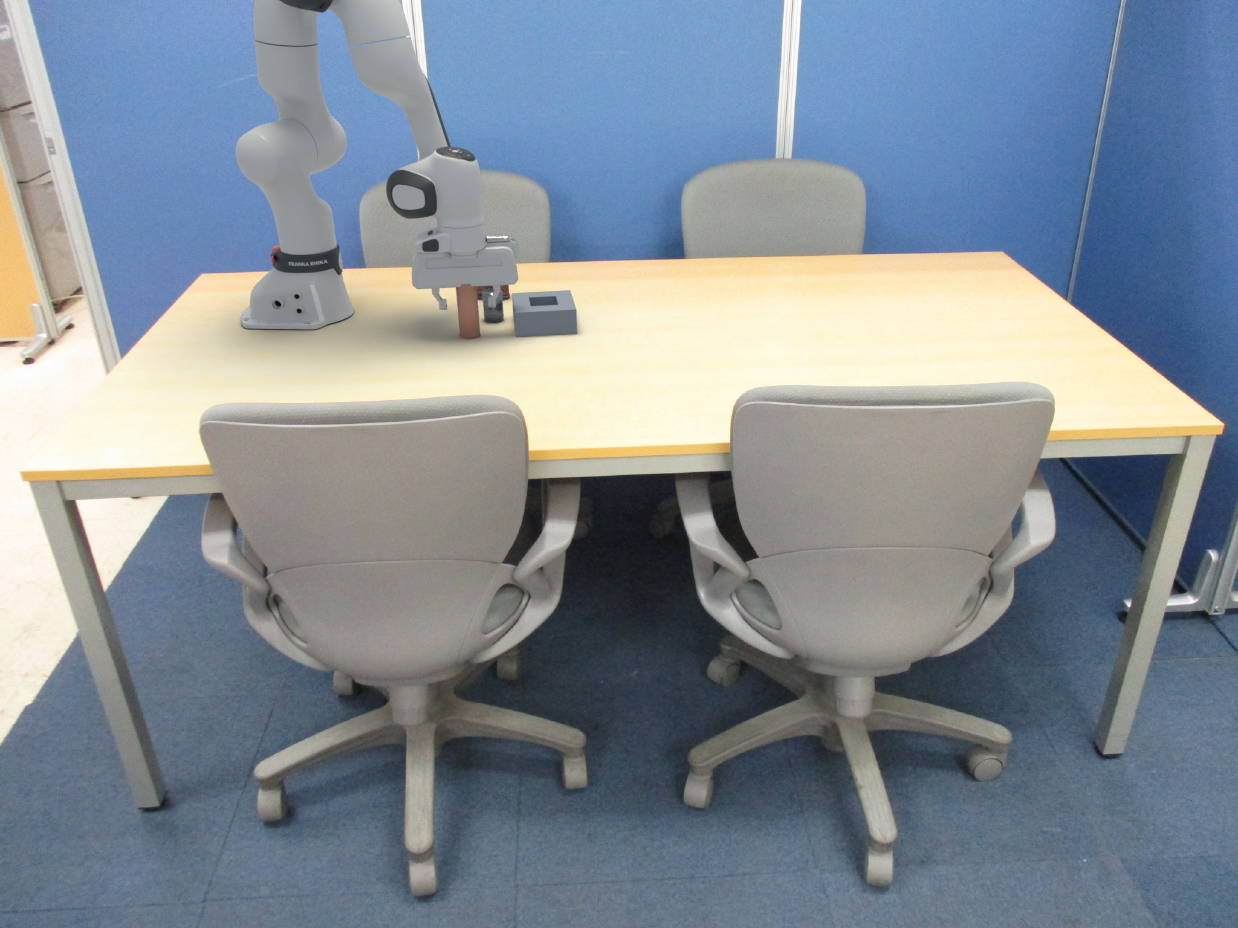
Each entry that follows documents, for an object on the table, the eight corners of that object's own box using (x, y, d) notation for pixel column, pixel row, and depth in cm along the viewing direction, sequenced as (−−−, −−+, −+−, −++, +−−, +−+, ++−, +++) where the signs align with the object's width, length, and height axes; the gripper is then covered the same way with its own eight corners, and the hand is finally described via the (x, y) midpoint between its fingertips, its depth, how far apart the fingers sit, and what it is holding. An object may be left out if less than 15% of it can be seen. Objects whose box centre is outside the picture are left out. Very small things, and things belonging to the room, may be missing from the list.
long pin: (459, 339, 193) (455, 285, 188) (459, 332, 197) (455, 278, 192) (480, 338, 194) (476, 284, 189) (480, 331, 197) (476, 277, 192)
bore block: (516, 337, 194) (515, 312, 192) (513, 316, 205) (511, 293, 202) (577, 333, 196) (576, 309, 193) (570, 313, 206) (570, 290, 204)
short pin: (484, 323, 201) (482, 295, 198) (484, 317, 204) (482, 289, 202) (504, 322, 201) (502, 294, 199) (503, 316, 205) (501, 288, 202)
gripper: (516, 230, 190) (520, 299, 197) (408, 235, 188) (416, 305, 194) (518, 239, 185) (522, 310, 191) (407, 244, 182) (414, 316, 189)
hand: (467, 307), depth 193 cm, fingers open, 8 cm apart
